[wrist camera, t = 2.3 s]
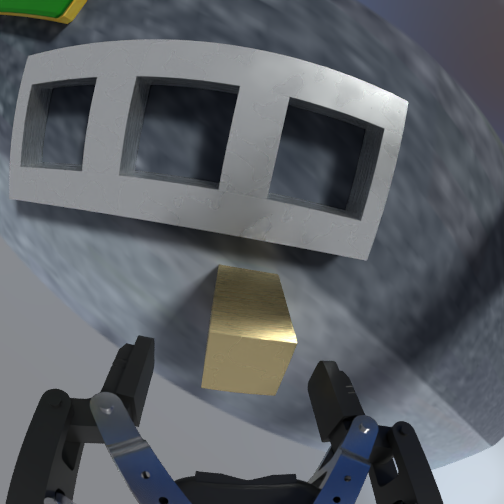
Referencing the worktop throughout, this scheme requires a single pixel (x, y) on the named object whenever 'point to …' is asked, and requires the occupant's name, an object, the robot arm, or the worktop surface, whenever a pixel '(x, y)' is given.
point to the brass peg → (248, 333)
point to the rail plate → (237, 152)
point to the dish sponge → (43, 9)
